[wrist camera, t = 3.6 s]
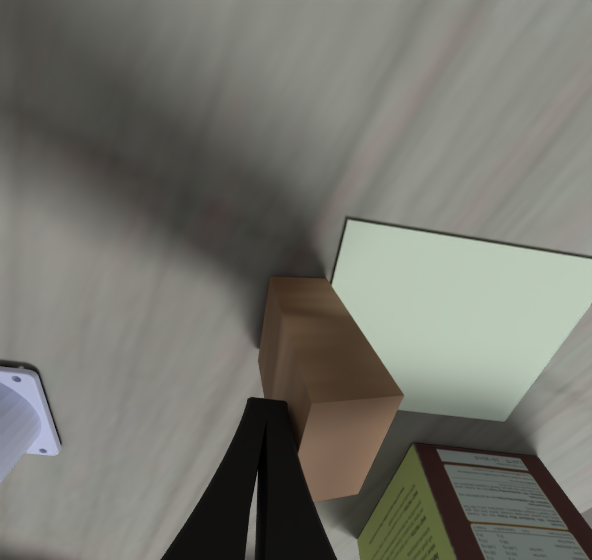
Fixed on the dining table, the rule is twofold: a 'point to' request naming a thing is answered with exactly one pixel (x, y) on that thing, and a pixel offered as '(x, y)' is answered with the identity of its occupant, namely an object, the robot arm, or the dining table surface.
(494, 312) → the mat
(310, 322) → the block
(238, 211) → the dining table surface
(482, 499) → the protein box
